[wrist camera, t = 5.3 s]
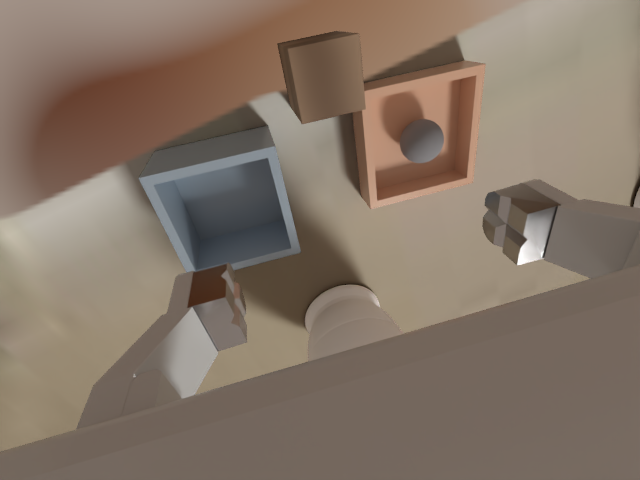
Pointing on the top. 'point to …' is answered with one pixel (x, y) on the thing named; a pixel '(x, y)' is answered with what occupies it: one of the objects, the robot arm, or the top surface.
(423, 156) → the ball
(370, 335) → the jar
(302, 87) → the block
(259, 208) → the grey open box
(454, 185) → the dish
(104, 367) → the top surface
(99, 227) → the top surface
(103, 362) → the top surface
